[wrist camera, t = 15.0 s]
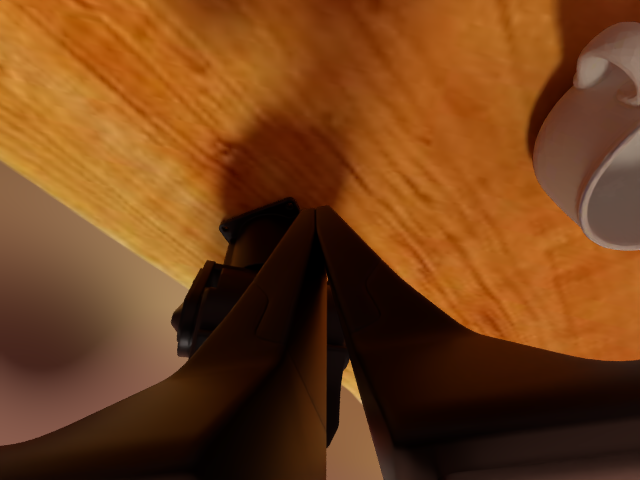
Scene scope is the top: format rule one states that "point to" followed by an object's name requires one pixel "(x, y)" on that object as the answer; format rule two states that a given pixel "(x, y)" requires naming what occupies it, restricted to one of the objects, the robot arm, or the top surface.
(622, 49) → the teacup
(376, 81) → the top surface
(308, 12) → the top surface
